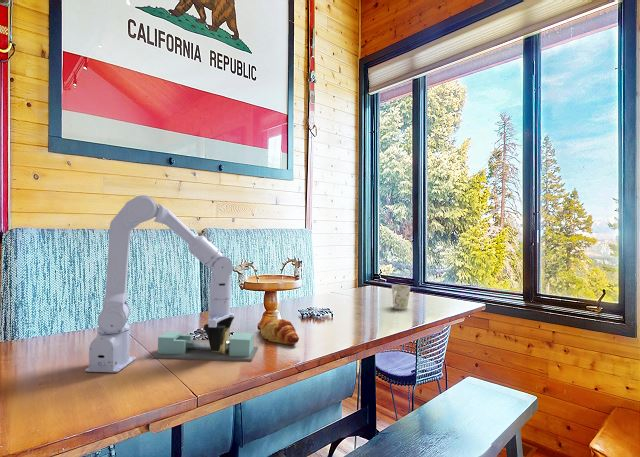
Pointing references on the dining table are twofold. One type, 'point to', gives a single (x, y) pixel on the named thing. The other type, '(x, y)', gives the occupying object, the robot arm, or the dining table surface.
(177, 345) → the guide
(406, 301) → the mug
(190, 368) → the dining table surface
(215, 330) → the robot arm
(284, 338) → the croissant
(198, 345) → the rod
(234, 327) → the dining table surface
